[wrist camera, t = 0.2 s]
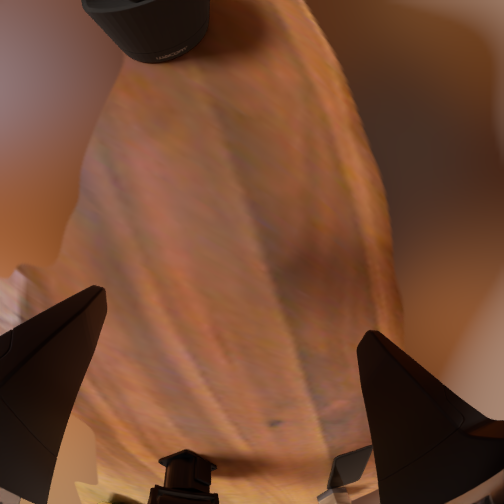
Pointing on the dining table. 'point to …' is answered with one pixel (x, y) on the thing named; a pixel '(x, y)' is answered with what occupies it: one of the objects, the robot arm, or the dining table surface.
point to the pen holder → (151, 25)
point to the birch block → (334, 497)
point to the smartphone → (348, 467)
